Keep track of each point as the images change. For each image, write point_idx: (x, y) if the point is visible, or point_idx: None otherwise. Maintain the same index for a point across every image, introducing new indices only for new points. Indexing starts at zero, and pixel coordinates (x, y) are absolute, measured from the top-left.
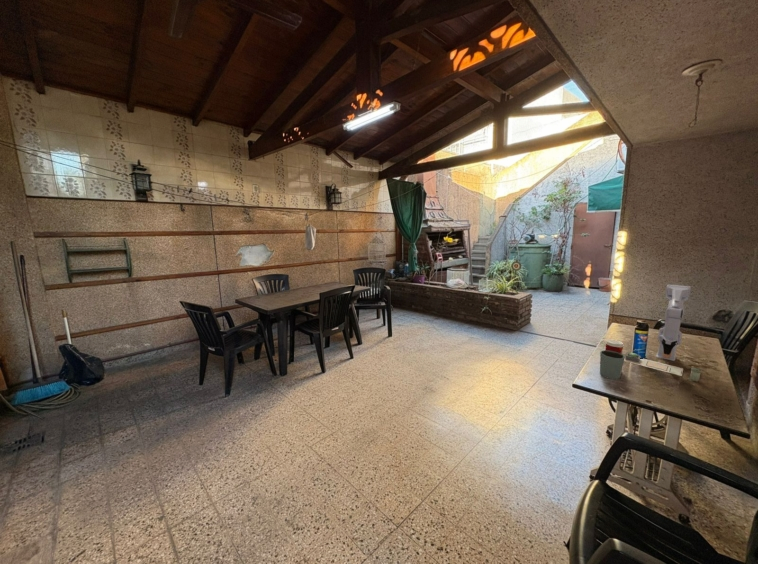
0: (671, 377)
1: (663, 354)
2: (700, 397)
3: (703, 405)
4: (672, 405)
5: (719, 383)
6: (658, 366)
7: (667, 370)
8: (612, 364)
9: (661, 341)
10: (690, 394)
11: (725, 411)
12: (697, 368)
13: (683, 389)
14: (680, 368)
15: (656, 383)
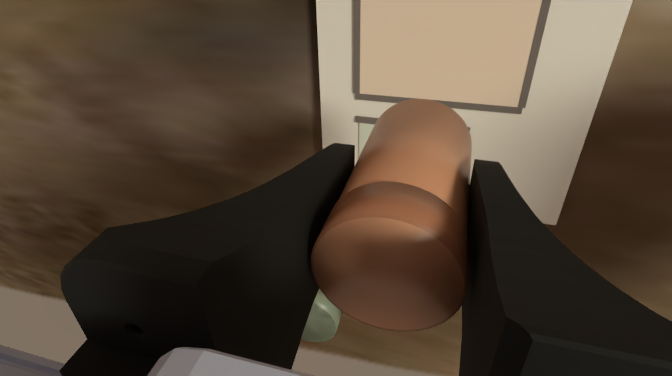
0: (249, 123)
1: (380, 126)
2: (90, 227)
3: (17, 222)
4: None
5: (398, 345)
6: (431, 22)
7: (370, 103)
8: None
9: (89, 253)
10: (77, 194)
11: (53, 277)
12: (331, 331)
13: (106, 172)
14: (534, 204)
15: (23, 29)
